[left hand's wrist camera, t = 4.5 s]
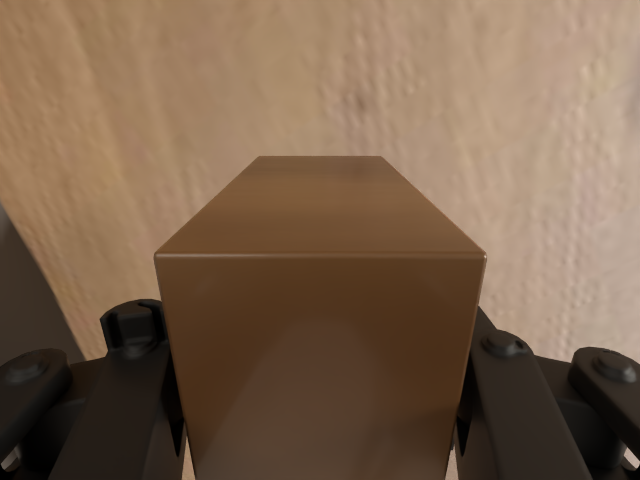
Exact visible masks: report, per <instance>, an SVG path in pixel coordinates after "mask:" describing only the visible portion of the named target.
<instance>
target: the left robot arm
mask: <svg viewBox="0 0 640 480" xmlns="http://www.w3.org/2000/svg"><path fill="white" fill-rule="evenodd" d="M100 322H101V326H102V330H103V334H104V337H105V341H106V345H107V348H108V352H107V354H106V356H105V357H103V358H99V359H95V360H90V361H85V362H80V363H75V364H69V361H68V358H67V355H66V353H64V352H63V351H62V350H59V349H52V348H50V349H41V350H35V351H32V352H28V353H25V354H22V355H20V356H18V357H16V358H14V359H12V360H10V361H8V362H7V363H5V364H4V365H2V366H1V367H0V480H182V471H183V463H184V454H185V446H186V437H187V432H186V427H185V422H184V417H183V411H182V406H181V401H180V396H179V390H178V385H177V380H176V374H175V369H174V364H173V359H172V353H171V348H170V343H169V338H168V332H167V327H166V322H165V316H164V311H163V306H162V302H161V301H158V300H154V299H139V300H134V301H129V302H126V303H123V304H120V305H118V306H115V307H114V308H112V309H110V310H109V311H107V312H106V313H105V314H104V315H103V316H102V317H101V318H100ZM454 445H455V454H456V462H457V471H458V479H459V480H640V465H639V467H638V468H635V467H634V466H633V465H632V464H631V463H630V462H629V461H628V460H627V459H626V458H625V457H624V453H625V451H626V449H627V447H628V448H629V449H630V451H631V452H632V453H633V454H634V455H635V456H636V457H637V459H638V460H639V461H640V364H638V363H637V362H635V361H634V360H632V359H630V358H628V357H626V356H624V355H622V354H620V353H618V352H615V351H612V350H611V351H610V350H609V349H604V348H596V347H585V348H580V349H578V350H577V351H576V352H574V355H573V359H572V362H571V363H568V362H563V361H558V360H553V359H548V358H544V357H540V356H536V355H534V354H533V351H532V350H531V348H530V347H529V346H528V345H527V343H526V342H524V341H523V340H521V339H520V338H519V337H517V336H515V335H513V334H510V333H508V332H506V331H502V330H498V329H496V327H495V326H494V325H493V324H492V322H491V321H490V320H489V318H488V317H487V316H486V314H485V313H484V312H483V311H482V309H481V308H480V307H479V306H478V309H477V314H476V319H475V325H474V330H473V335H472V340H471V346H470V351H469V356H468V361H467V367H466V372H465V377H464V382H463V388H462V393H461V398H460V403H459V409H458V414H457V419H456V424H455V430H454V435H453V440H452V445H451V450H453V447H454ZM13 449H14V450H15V452H16V454H17V458H16V459H15V460H14V461H13V463H12V464H11V465H10V466H9V467H7V468H6V469H5V470H4V469H3V468H2V466H1V463H2V462H3V460H4V459H5V458H6V457H7V456H8V455H9V454H10V452H11V451H12V450H13Z"/></svg>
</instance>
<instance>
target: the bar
mask: <svg viewBox="0 0 640 480" xmlns="http://www.w3.org/2000/svg"><path fill="white" fill-rule="evenodd" d="M486 262H487V255H486V252H485V251H483V250H482V249H481V248H480V247H479V246H478V245H477V244H476V243H475V242H474V241H473V240H472V239H470V238H469V237H468V236H467V235H466V234H465V233H464V232H463V231H462V230H461V229H460V228H459V227H458V226H456V225H455V224H454V223H453V222H452V221H451V220H450V219H449V218H448V217H447V216H446V215H445V214H443V213H442V212H441V211H440V210H439V209H438V208H437V207H436V206H435V205H434V204H433V203H432V202H430V201H429V200H428V199H427V198H426V197H425V196H424V195H423V194H422V193H421V192H420V191H419V190H417V189H416V188H415V187H414V186H413V185H412V184H411V183H410V182H409V181H408V180H407V179H406V178H404V177H403V176H402V175H401V174H400V173H399V172H398V171H397V170H396V169H395V168H394V167H393V166H391V165H390V164H389V163H388V162H387V161H386V160H385V159H384V158H383V157H381V156H259V157H257V158H256V159H255V160H254V161H253V162H252V163H251V164H250V165H249V166H248V167H247V168H246V169H244V170H243V171H242V172H241V173H240V174H239V175H238V176H237V177H236V178H235V179H234V180H233V181H232V182H230V183H229V184H228V185H227V186H226V187H225V188H224V189H223V190H222V191H221V192H220V193H219V194H218V195H216V196H215V197H214V198H213V199H212V200H211V201H210V202H209V203H208V204H207V205H206V206H205V207H203V208H202V209H201V210H200V211H199V212H198V213H197V214H196V215H195V216H194V217H193V218H192V219H191V220H189V221H188V222H187V223H186V224H185V225H184V226H183V227H182V228H181V229H180V230H179V231H178V232H177V233H175V234H174V235H173V236H172V237H171V238H170V239H169V240H168V241H167V242H166V243H165V244H164V245H162V246H161V247H160V248H159V249H158V250H157V251H156V252H155V254H154V264H155V269H156V274H157V279H158V285H159V290H160V295H161V301H162V306H163V311H164V316H165V322H166V327H167V332H168V338H169V343H170V348H171V353H172V359H173V364H174V369H175V374H176V380H177V385H178V390H179V396H180V401H181V406H182V411H183V417H184V422H185V427H186V432H187V438H188V443H189V448H190V454H191V459H192V464H193V469H194V475H195V480H445V477H446V472H447V466H448V461H449V456H450V451H451V445H452V440H453V435H454V430H455V424H456V419H457V414H458V409H459V403H460V398H461V393H462V388H463V382H464V377H465V372H466V367H467V361H468V356H469V351H470V346H471V340H472V335H473V330H474V325H475V319H476V314H477V309H478V304H479V298H480V293H481V288H482V283H483V277H484V272H485V267H486Z"/></svg>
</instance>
